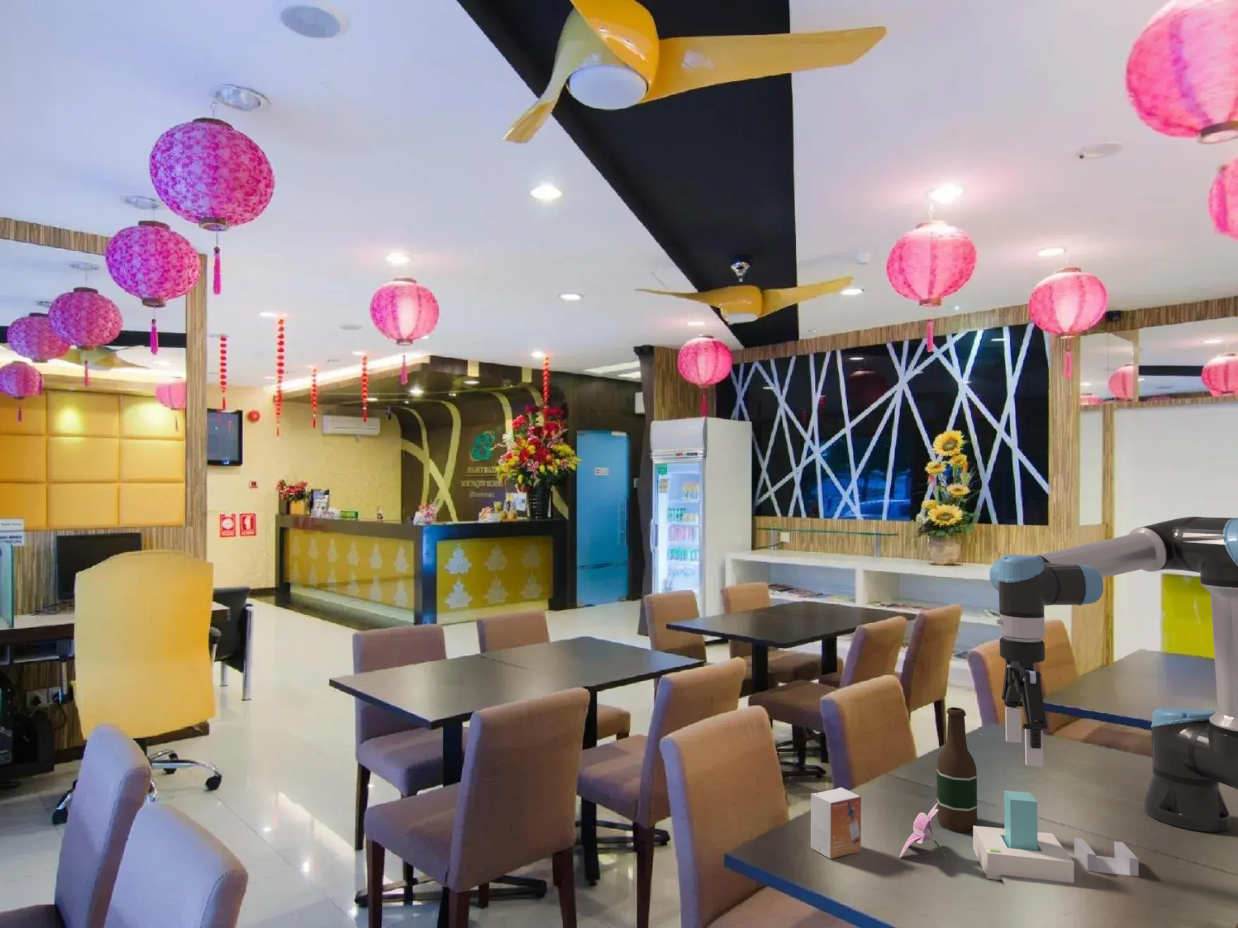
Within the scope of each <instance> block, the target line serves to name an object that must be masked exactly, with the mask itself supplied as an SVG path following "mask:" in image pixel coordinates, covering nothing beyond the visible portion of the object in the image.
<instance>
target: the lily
mask: <svg viewBox="0 0 1238 928" xmlns="http://www.w3.org/2000/svg"><path fill="white" fill-rule="evenodd" d="M938 803H939V802H938ZM938 803H937V802H936V803H935V805H934V806H933V807H932V808H931V810H930V811H929V812H928V814H926V813H924V812H919V813H918V815H917V816H916V817H915V819H914V822H913V823H912V829H913V832H912V833H911V835H910V836H909V837H908V839H907V840H906V842H905V843H904V846H903V847H902V850H901V853H900V854H899V858H900V859H901V858H902V856H903V855H904V853H905V851H906V850H907V849H908V848H909V846H911V844H912V843H914V842H916V843H917V844H922V843H923V841H929V840H932V842H934V843H935V845H936V846H937V847H938V849H939V851H941V853H942V855H943V857H944V858H945V859H947V855H946V854H945V852H944V851H943V848H942V847H941V846H940V844H939V843H938V842H937V841H936V839H935V838H934V837H933V830H932V818H933V817H934V816H935V815H936V814H937V811H938V809H937V804H938Z"/></svg>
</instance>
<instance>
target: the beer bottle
mask: <svg viewBox="0 0 1238 928" xmlns="http://www.w3.org/2000/svg"><path fill="white" fill-rule="evenodd" d="M946 714H947V727H946V728H947V729H946V741H945V746H944V747H943V748H942V750H941V751H940V752H939V755H938V756H937V761H936V804H937V803H938V802H939V803H938V804H937V806H936V809H938V811H937V812H936V817H937V821H938V823H939V825H940V827H941V828H943V829H946V830H948V831H950V832H954V833H963V834H964V833H966V834H969V833H971V832H973V826H978V774H977V773H978V772H977V766H976V763H975V760H974V757H973V756H972V754H971V753H970V751H969V749H968V745H967V735H966V722H965V721H966V720H965V717H966V716H967V712H966V711H965V709H964V708H961V707H956V706H952V707H948V708H946Z"/></svg>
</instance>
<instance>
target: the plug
mask: <svg viewBox="0 0 1238 928" xmlns="http://www.w3.org/2000/svg"><path fill="white" fill-rule="evenodd" d="M1003 805H1004V806H1003V810H1004V811H1003V814H1004V815H1003V817H1004V820H1003V821H1004V824H1003V825H1004V828H1003V829H1004V842H1005V844H1006V846H1007V847H1008V848H1012V849H1022V850H1031V851H1038V832H1039V831H1038V801H1037V799H1036V798H1035V797H1034V796H1033V794H1032V793H1031V792H1026V791H1015V790H1003Z"/></svg>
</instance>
